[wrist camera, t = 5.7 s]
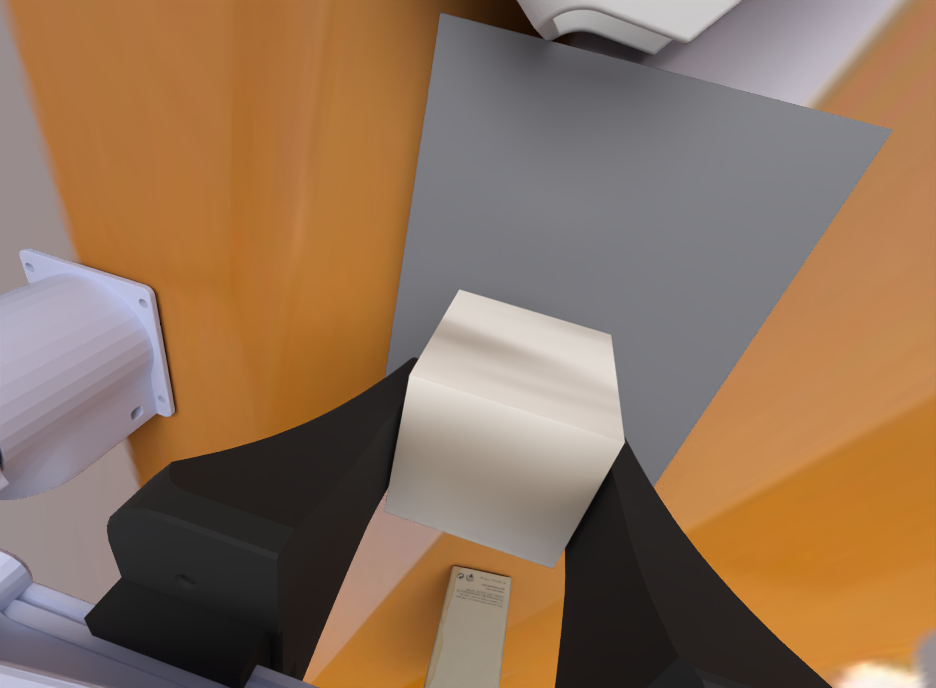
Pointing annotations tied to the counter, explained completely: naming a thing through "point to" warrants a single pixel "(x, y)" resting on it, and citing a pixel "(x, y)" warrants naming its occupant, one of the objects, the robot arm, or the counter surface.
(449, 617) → the skincare box
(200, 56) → the counter surface
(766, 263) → the base plate
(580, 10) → the cable organizer
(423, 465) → the ash cube
